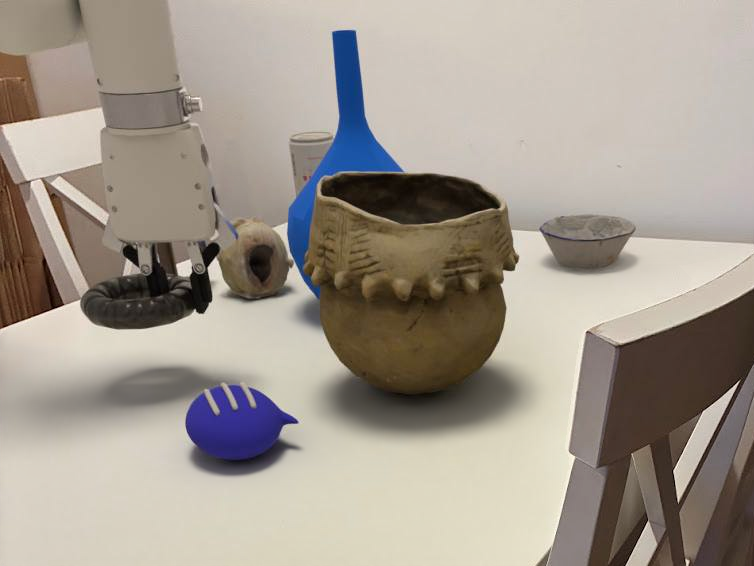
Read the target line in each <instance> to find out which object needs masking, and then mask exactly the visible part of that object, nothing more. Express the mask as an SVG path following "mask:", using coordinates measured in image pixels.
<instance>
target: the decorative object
mask: <svg viewBox="0 0 754 566" xmlns="http://www.w3.org/2000/svg"><path fill="white" fill-rule="evenodd" d="M185 415H186V416H185V421H184V424H185V429H186V433H187V435H188V437H189V439H190V441H192V443H193V444H194V445H195V446H196V447H197V448H199V449H200V450H201V451H202V452H204V453H206V454H207V455H209V456H211V457H215V458H218V459H222V460H227V461H241V460H247V459H251V458H252V459H253V458H254V457H257V456H259V455H262V454H263V453H265V452H266V451H268V450H269V449H270V448H272V446H274V444H275V443H276V442H277V440H278V438H279V436H280V435H281V432H282V430H283V428H284V426H287V425H298V424H299V420H298V419H297V418H296V417H295V416H293V415H291V414H289V413H287V412H286V411H283V410H282V409H281V408H280V407H279V406H278V405H277V404H276V403H275V402H274V401H273V400H272V399H271V398H270V397H268V396H267V395H266V394H264V393H263V392H261V390H260V391H259V390H257V389H255V388H254V387H253V388H252V387H250V386H247V384H246V383H244V382H242V381H241V382H239V384H227V383H225V382H220V386H217V387H212V388H211V389H209V388H204V390H203V392H202V393H201V394H199V395H198V396H197V397H196V398H195V399H194V400H193V401H191V404H190V405H189V407H188V409H187V412H186V414H185Z"/></svg>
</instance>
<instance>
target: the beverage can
mask: <svg viewBox="0 0 754 566" xmlns="http://www.w3.org/2000/svg"><path fill="white" fill-rule="evenodd" d="M334 138H335V137H334V133H333V132H330V131H323V130H322V131H321V130H320V131H319V130H318V131H313V130H312V131H303V132H297V133H293V134H290V135H289V142H288V144H289V145H288V146H289V154H290V160H291V168H292V176H293V183H294V191H295V198H296V197H297V196H298V195H299V193H300V192H301V191H302V189H303V188H304V186H305V185H306V184H307V182H308V181H309V180H310V178H311V177H312V175H313V174H314V172H315V171H316V169H317V167H318V166H319V164H320V163H321V161H322V159H323V158H324V156H325V155H326V153H327V151H328V150H329V148H330V147H331V145H332V143H333V141H334Z"/></svg>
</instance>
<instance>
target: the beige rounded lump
mask: <svg viewBox="0 0 754 566" xmlns="http://www.w3.org/2000/svg"><path fill="white" fill-rule="evenodd" d="M229 222H230V223H231V225H232V226H233V227H234V229H235V230H236V232H237V233H238V239H237V241H236V242H235V243H234V244H233V245H231V246H230V247H228V248H227V249H225V250H224V251H222V252H221V253H219V254H218V255H217V256H216V257H215V259H216V260H217V262H218V265H219V268H220V271H221V276H222V279H223V281H224V283H225V284H226V285H227V286H228V287H229V289H230V290H231V292H232V293H233V294H235V295H237V296H241V297H243V298H246V299H255V300H256V299H257V300H260V299H262V298H265V297H269V296H274V295H276V294H277V291H278V290H280V289H281V288H282V287H283V286H284V285H285V284H286V282H287V280H288V275H289V272H290V269H292V268H293V267H294V265H295V261H294V259H293V258H290V257H289V254H288V250H287V246H286V244H285V242H284V240H283V238H282V237H281V235H280V234H279V233H278V232H277V231H276V230H275V229H273V228H272V227H270V226H269V225H267V224H266V223H264V222H262V221H261V219H260V218H258V217H257V216H255V215H254V216H252V217H250V218H249V219H247V218H244V217H239V216H238V217H236V218H234V219H231V221H229Z"/></svg>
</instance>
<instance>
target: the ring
mask: <svg viewBox="0 0 754 566" xmlns="http://www.w3.org/2000/svg"><path fill="white" fill-rule="evenodd" d="M166 276H167V281H168V286H169V291H170V292H167V293H165V294H162V295H160V296H154V297H150V294H149V289H148V284H147V279H146V275H144V274H142V273H141V272H140V273H139V272H138V273H133V274H127V275H121V276H115V277H111V278H109V279H106V280H103V281H100V282H98V283H95V284H92V286H90V287H89V288H88V290H86V291H85V292H84V294H83V295H82V296H81V298H80V301H79V307H80V310H81V312H82V314H83V315H84V316H85V317H86V318H87V319H88V320H89V321H90V322H91V323H92V324H93V325H95V326H98V327H103V328H108V329H112V330H120V331H122V330H123V331H125V330H147V329H151V328H156V327H157V328H158V327H162V326H166V325H171V324H173V323H174V324H175V323H176V322H178V321H180V320H182V319H183V320H184V319H185V318H187V317H190V316H191V315H192V314H193V313H194V312H195V311H196V309H195V304H194V299H193V293H192V288H191V283H190V281H189V280H188V279H187V278H185V277H186V276H182V275H179V274H178V275H172V274H166Z"/></svg>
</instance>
